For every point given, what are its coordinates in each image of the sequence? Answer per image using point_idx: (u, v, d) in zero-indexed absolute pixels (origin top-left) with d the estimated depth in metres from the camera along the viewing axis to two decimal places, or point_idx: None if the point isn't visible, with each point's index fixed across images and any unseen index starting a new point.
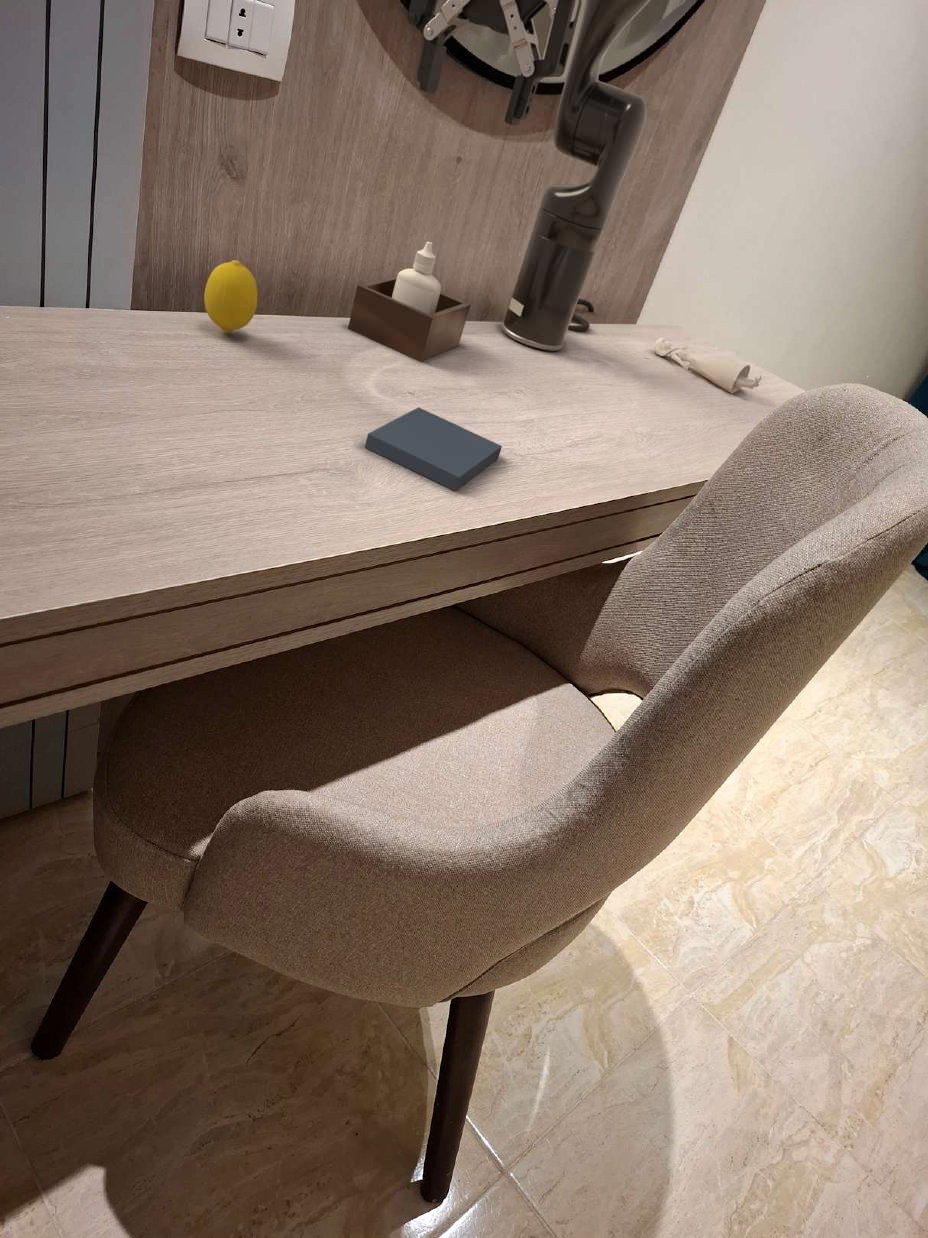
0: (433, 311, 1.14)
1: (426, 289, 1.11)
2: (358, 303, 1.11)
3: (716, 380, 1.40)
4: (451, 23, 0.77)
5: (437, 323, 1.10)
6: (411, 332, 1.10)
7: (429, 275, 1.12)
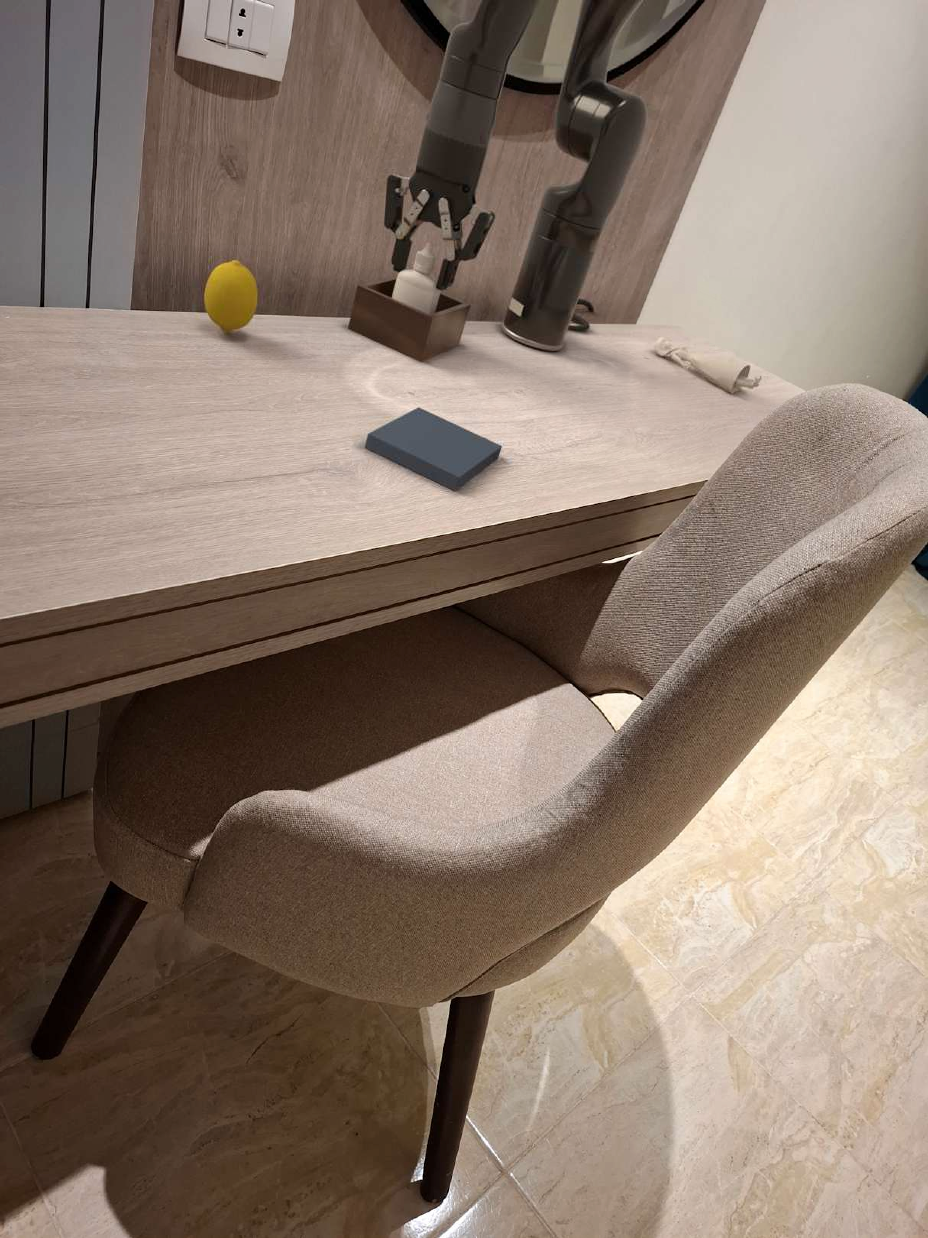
0: (433, 311, 1.14)
1: (426, 289, 1.11)
2: (358, 303, 1.11)
3: (716, 380, 1.40)
4: (413, 225, 1.09)
5: (437, 323, 1.10)
6: (411, 332, 1.10)
7: (429, 275, 1.12)
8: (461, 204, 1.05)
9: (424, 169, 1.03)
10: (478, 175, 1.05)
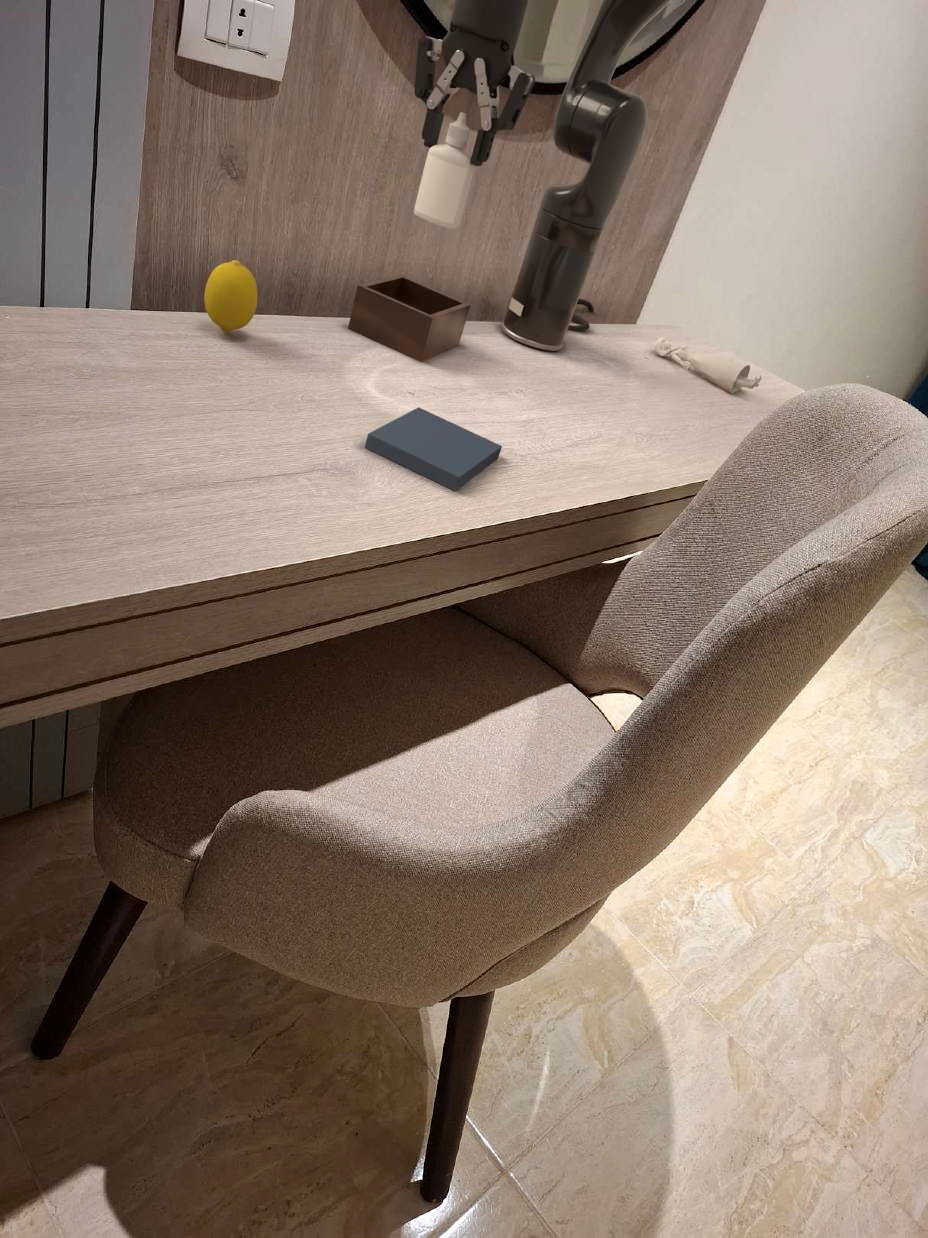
0: (466, 191, 1.06)
1: (460, 164, 1.03)
2: (358, 303, 1.11)
3: (716, 380, 1.40)
4: (446, 92, 1.01)
5: (437, 323, 1.10)
6: (411, 332, 1.10)
7: (462, 150, 1.04)
8: (499, 65, 0.97)
9: (459, 24, 0.95)
10: (518, 32, 0.97)
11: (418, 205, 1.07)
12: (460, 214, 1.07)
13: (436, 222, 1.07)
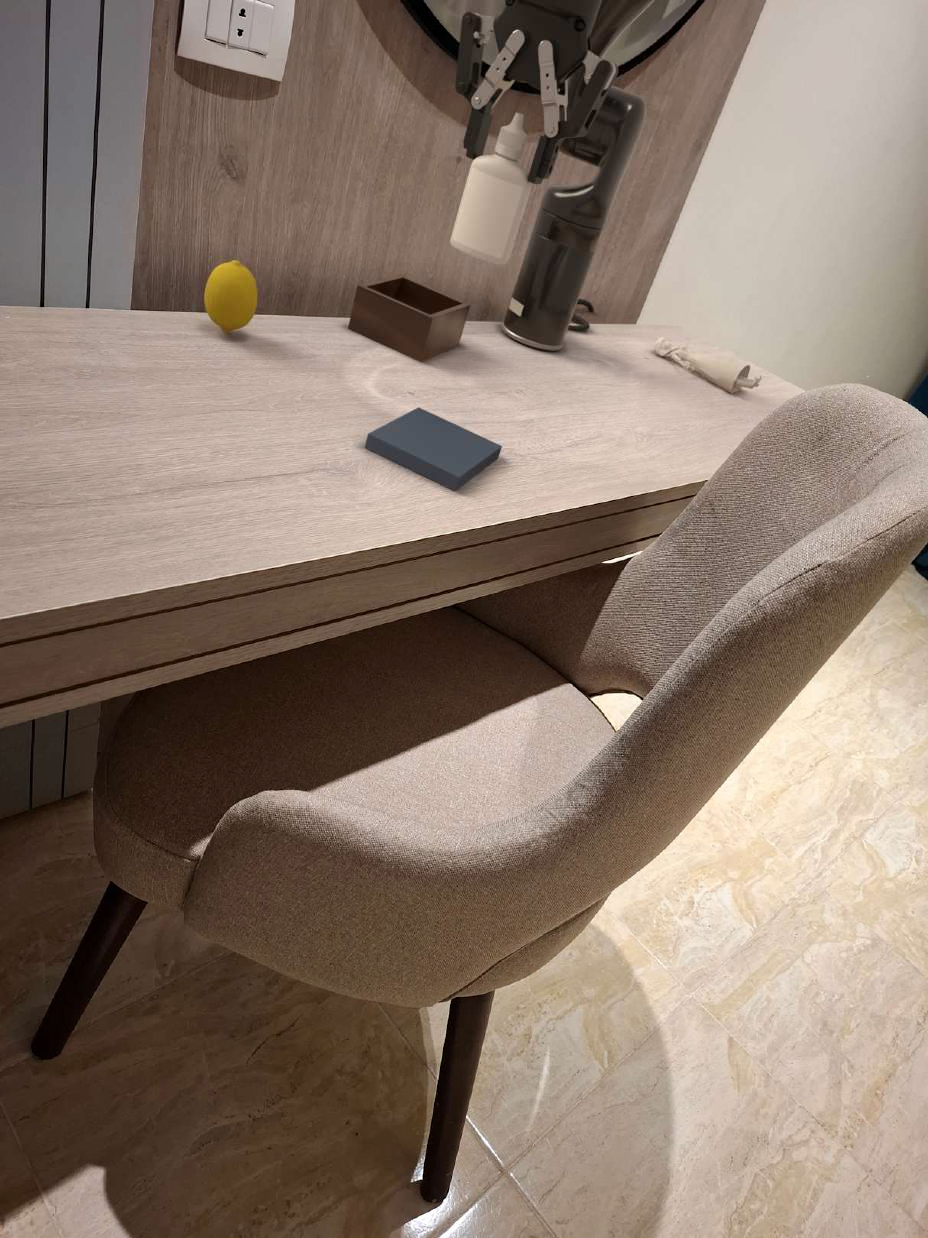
0: (520, 216, 0.81)
1: (513, 181, 0.79)
2: (358, 303, 1.11)
3: (716, 380, 1.40)
4: (497, 87, 0.76)
5: (437, 323, 1.10)
6: (411, 332, 1.10)
7: (517, 162, 0.79)
8: (571, 50, 0.73)
9: None
10: (598, 6, 0.72)
11: (457, 234, 0.82)
12: (511, 246, 0.82)
13: (480, 256, 0.82)
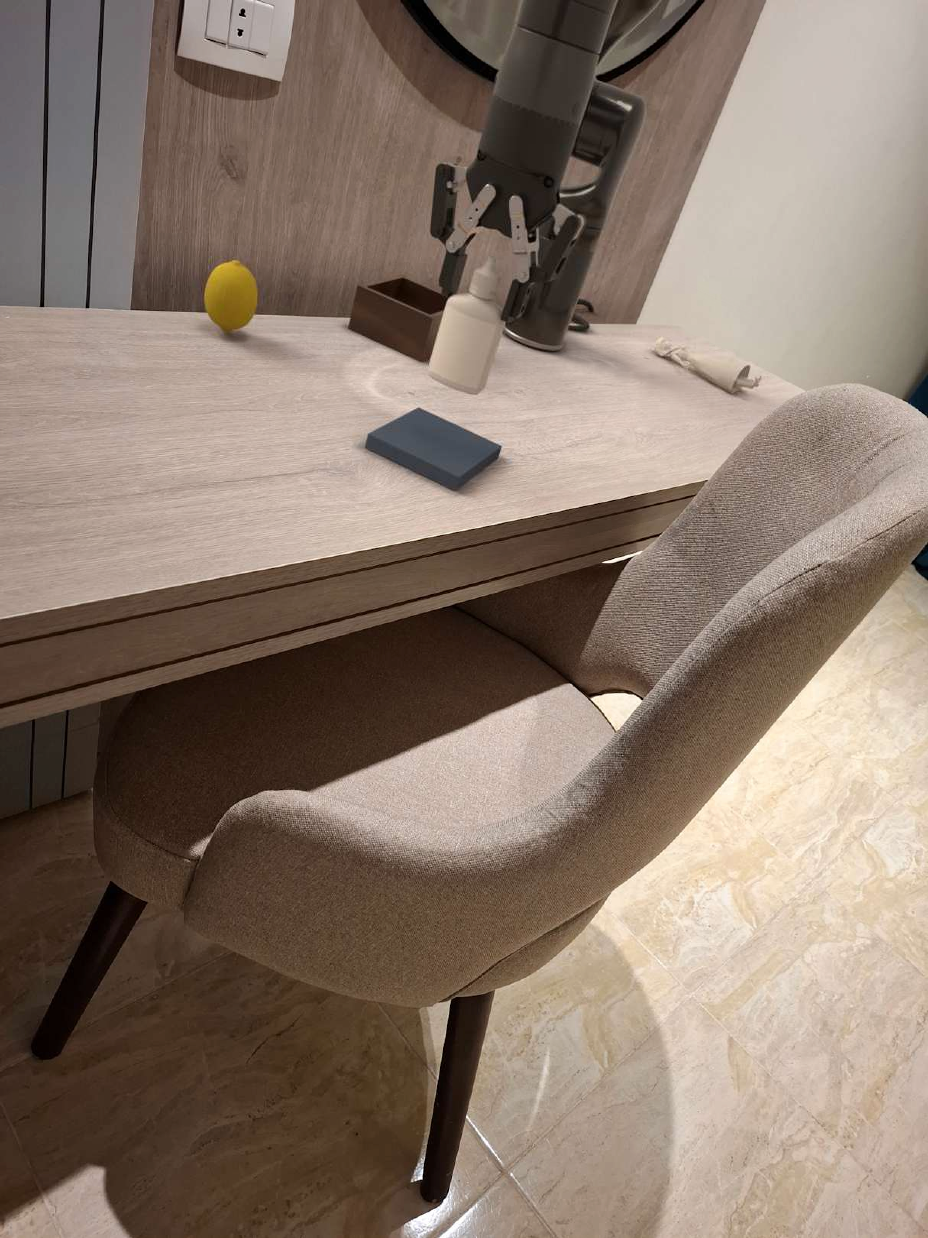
0: (495, 350, 0.83)
1: (487, 320, 0.81)
2: (358, 303, 1.11)
3: (716, 380, 1.40)
4: (471, 233, 0.79)
5: (437, 323, 1.10)
6: (411, 332, 1.10)
7: (491, 302, 0.81)
8: (541, 204, 0.75)
9: (491, 155, 0.73)
10: (566, 163, 0.74)
11: (433, 365, 0.85)
12: (486, 376, 0.85)
13: (456, 387, 0.85)
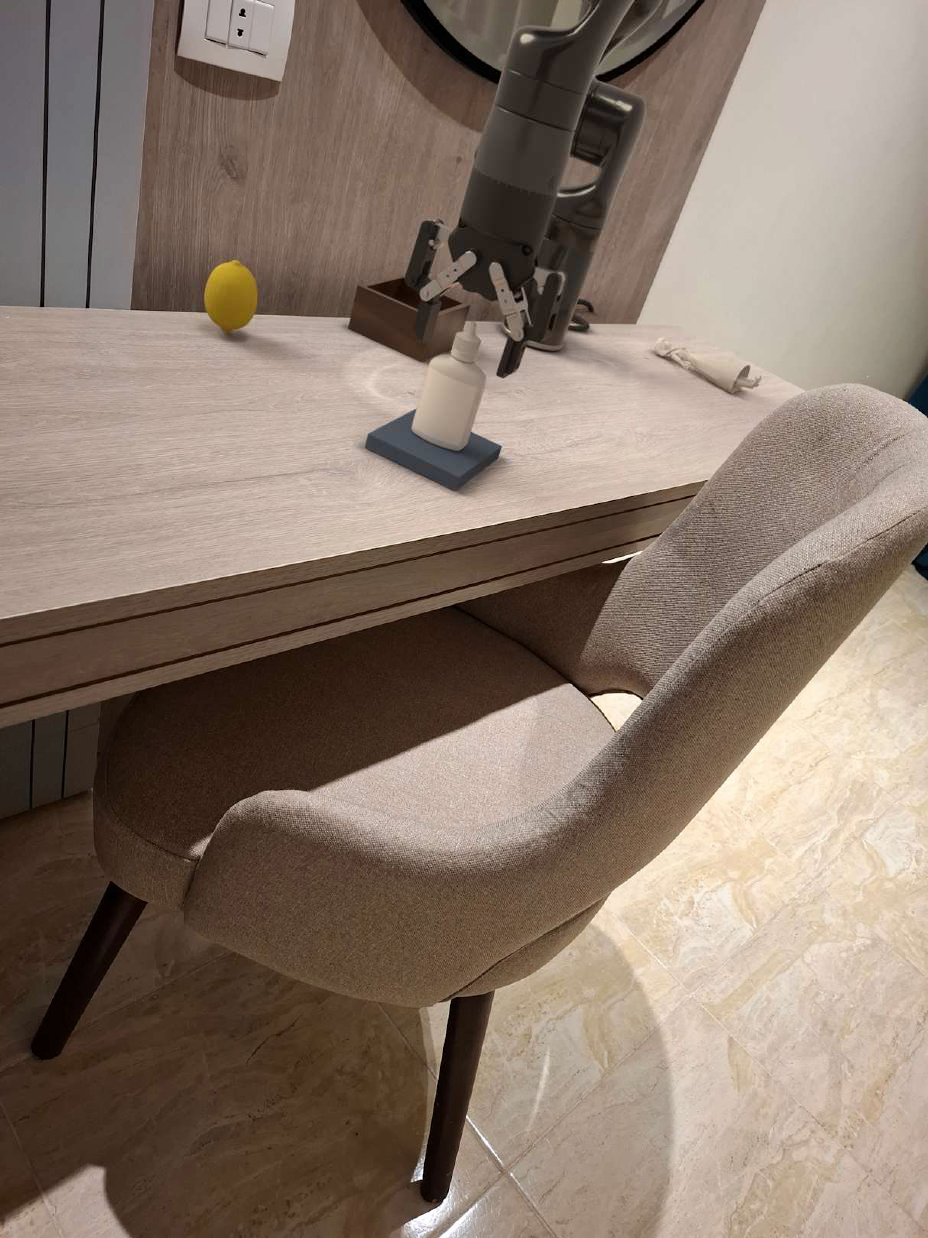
0: (476, 409, 0.87)
1: (468, 382, 0.84)
2: (358, 303, 1.11)
3: (716, 380, 1.40)
4: (446, 288, 0.82)
5: (437, 323, 1.10)
6: (411, 332, 1.10)
7: (472, 364, 0.85)
8: (520, 270, 0.78)
9: (471, 225, 0.76)
10: (543, 232, 0.77)
11: (417, 423, 0.88)
12: (468, 434, 0.88)
13: (439, 444, 0.88)
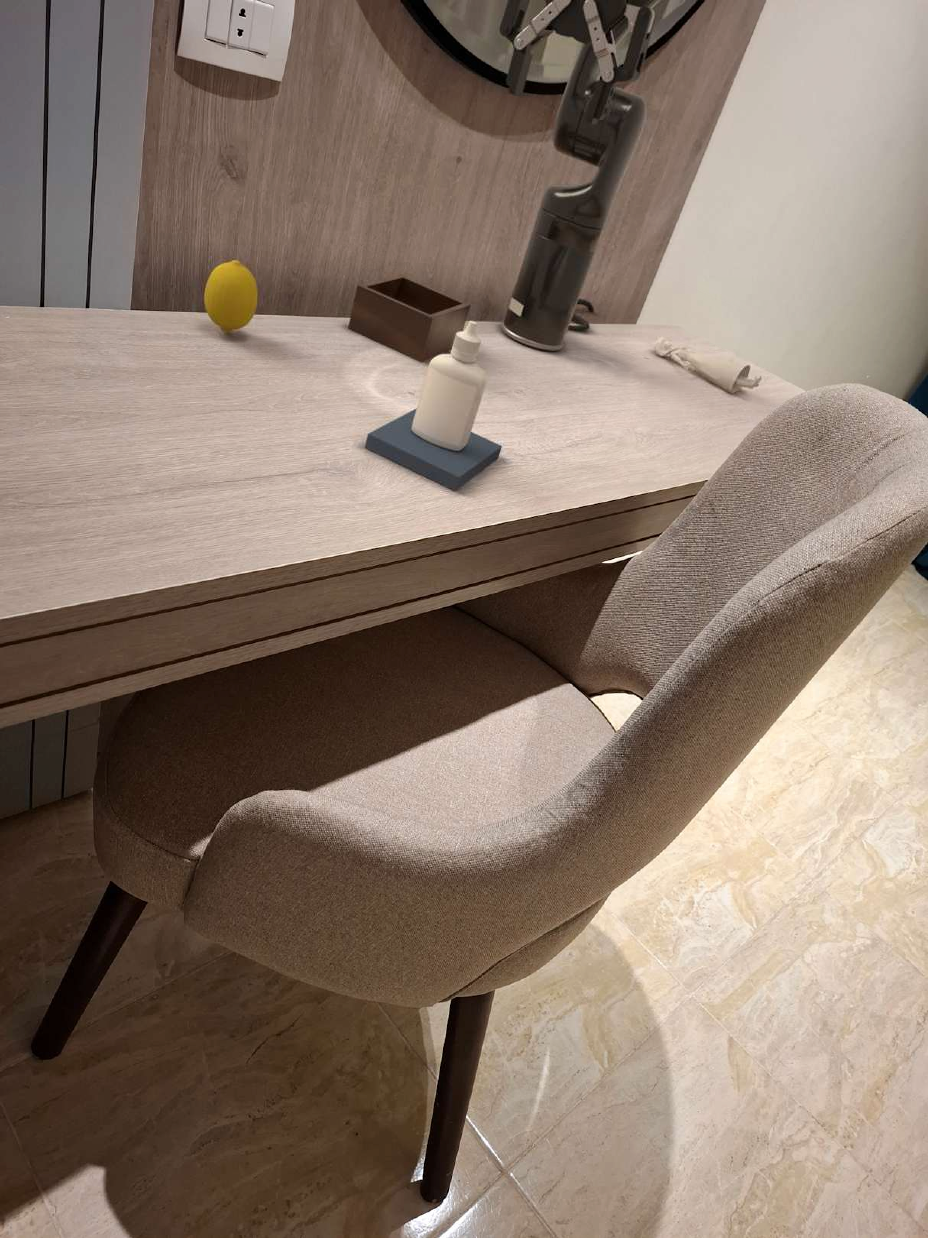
0: (476, 409, 0.87)
1: (468, 382, 0.84)
2: (358, 303, 1.11)
3: (716, 380, 1.40)
4: (539, 34, 0.87)
5: (437, 323, 1.10)
6: (411, 332, 1.10)
7: (472, 364, 0.85)
8: (612, 7, 0.84)
9: None
10: None
11: (417, 423, 0.88)
12: (468, 434, 0.88)
13: (439, 444, 0.88)
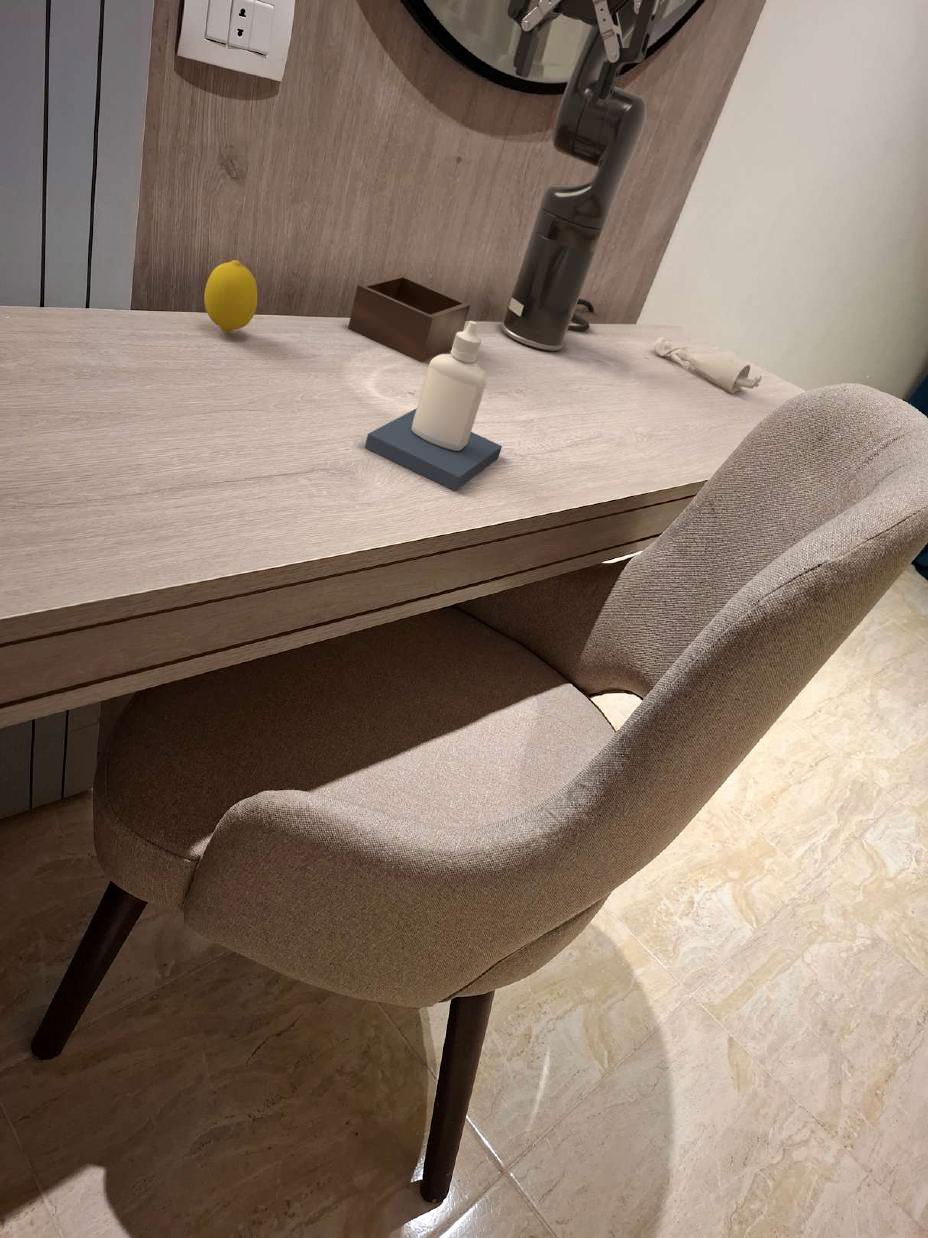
0: (476, 409, 0.87)
1: (468, 382, 0.84)
2: (358, 303, 1.11)
3: (716, 380, 1.40)
4: (546, 16, 0.89)
5: (437, 323, 1.10)
6: (411, 332, 1.10)
7: (472, 364, 0.85)
8: None
9: None
10: None
11: (417, 423, 0.88)
12: (468, 434, 0.88)
13: (439, 444, 0.88)
